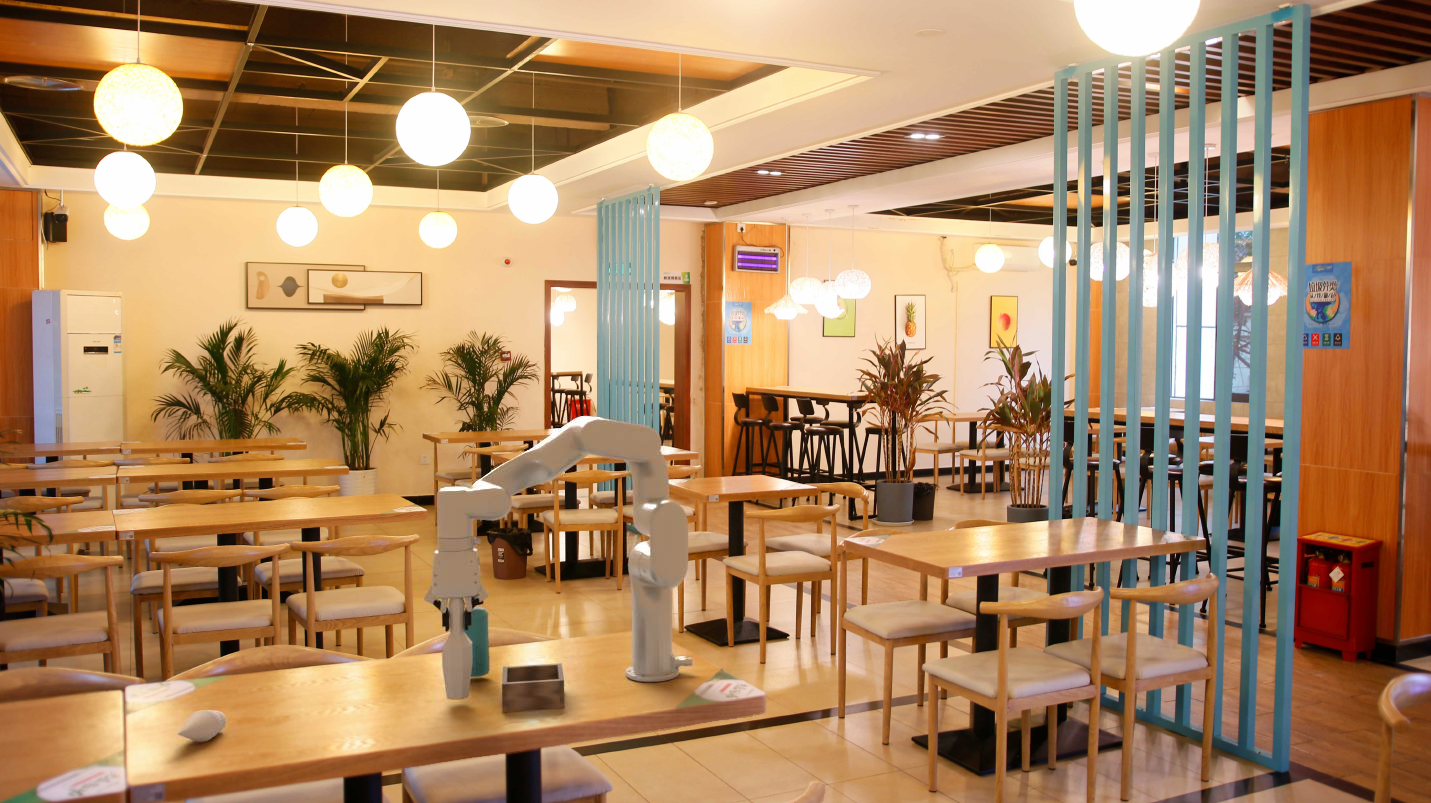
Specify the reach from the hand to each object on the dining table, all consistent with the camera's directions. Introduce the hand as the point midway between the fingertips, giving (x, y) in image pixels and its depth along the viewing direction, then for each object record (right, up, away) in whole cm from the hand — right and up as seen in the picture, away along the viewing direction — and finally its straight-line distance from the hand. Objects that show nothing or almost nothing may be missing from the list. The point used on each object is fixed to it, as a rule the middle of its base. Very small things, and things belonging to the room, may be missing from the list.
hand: (457, 628), depth 219 cm
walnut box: (+16, -17, +3) cm, 23 cm away
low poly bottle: (0, -15, 0) cm, 15 cm away
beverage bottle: (-1, -16, +19) cm, 25 cm away
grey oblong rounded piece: (-45, -18, -21) cm, 53 cm away
